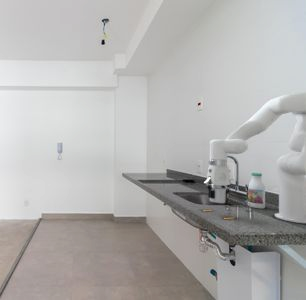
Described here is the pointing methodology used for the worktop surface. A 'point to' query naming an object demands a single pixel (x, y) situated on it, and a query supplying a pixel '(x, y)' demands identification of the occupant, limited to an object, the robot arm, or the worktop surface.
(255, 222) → the worktop surface
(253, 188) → the milk bottle
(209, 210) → the tape marks
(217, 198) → the pot
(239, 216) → the worktop surface
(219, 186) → the coffee mug
